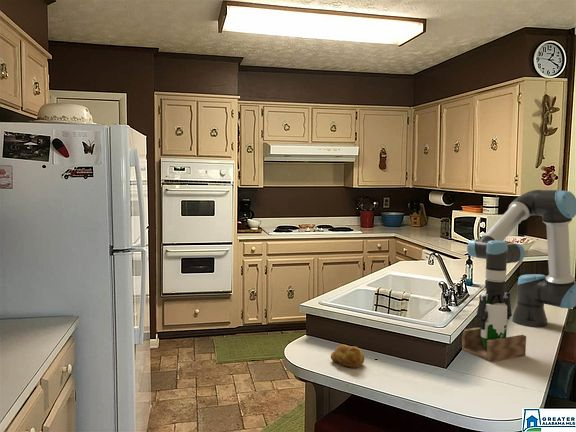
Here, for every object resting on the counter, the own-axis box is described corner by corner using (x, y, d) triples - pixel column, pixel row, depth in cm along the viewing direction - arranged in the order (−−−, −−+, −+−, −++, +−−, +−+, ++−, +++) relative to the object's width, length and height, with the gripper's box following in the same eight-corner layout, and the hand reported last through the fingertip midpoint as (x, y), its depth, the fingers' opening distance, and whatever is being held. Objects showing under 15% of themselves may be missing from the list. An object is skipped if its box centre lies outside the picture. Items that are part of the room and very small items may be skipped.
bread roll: (325, 363, 185) (326, 342, 184) (340, 356, 192) (340, 336, 192) (355, 372, 177) (355, 350, 176) (369, 364, 184) (369, 343, 183)
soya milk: (479, 342, 203) (480, 294, 201) (502, 344, 201) (504, 295, 200) (483, 349, 195) (485, 299, 193) (507, 351, 193) (509, 300, 191)
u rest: (494, 343, 209) (495, 324, 208) (525, 355, 194) (526, 336, 194) (460, 348, 202) (461, 329, 201) (489, 361, 187) (490, 341, 187)
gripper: (508, 276, 203) (506, 330, 205) (467, 280, 195) (465, 336, 197) (523, 279, 196) (521, 335, 198) (481, 284, 188) (479, 342, 190)
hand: (493, 335), depth 197 cm, fingers closed on soya milk, 9 cm apart
